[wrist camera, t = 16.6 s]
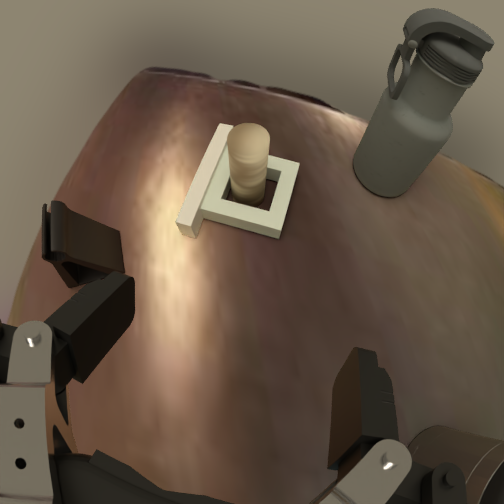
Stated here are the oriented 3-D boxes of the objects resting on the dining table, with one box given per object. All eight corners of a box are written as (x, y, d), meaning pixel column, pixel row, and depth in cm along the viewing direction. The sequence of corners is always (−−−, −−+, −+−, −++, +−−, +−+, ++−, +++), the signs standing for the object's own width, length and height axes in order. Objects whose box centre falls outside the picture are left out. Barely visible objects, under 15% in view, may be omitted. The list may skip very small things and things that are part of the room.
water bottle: (346, 188, 43) (428, 22, 16) (350, 138, 46) (409, -13, 19) (409, 206, 42) (520, 74, 15) (407, 156, 45) (489, 26, 18)
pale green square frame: (296, 174, 43) (299, 163, 40) (278, 238, 40) (281, 230, 37) (227, 157, 44) (226, 145, 41) (203, 218, 40) (200, 208, 38)
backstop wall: (234, 143, 45) (233, 125, 41) (195, 238, 40) (190, 226, 36) (221, 140, 45) (219, 123, 41) (181, 234, 40) (175, 221, 36)
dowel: (268, 185, 42) (274, 128, 31) (259, 212, 41) (263, 159, 30) (237, 177, 43) (234, 119, 31) (227, 203, 41) (220, 149, 30)
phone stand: (120, 232, 40) (81, 189, 29) (125, 273, 38) (83, 240, 27) (66, 248, 39) (19, 213, 28) (69, 288, 37) (17, 262, 26)
